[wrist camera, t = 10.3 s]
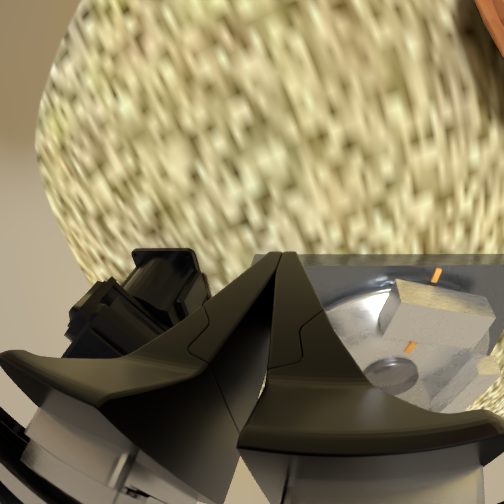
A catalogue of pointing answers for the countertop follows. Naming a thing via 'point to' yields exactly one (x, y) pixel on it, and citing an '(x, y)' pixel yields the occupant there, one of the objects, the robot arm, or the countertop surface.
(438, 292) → the slotted metal disc
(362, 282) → the base plate
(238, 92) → the countertop surface
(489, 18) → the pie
